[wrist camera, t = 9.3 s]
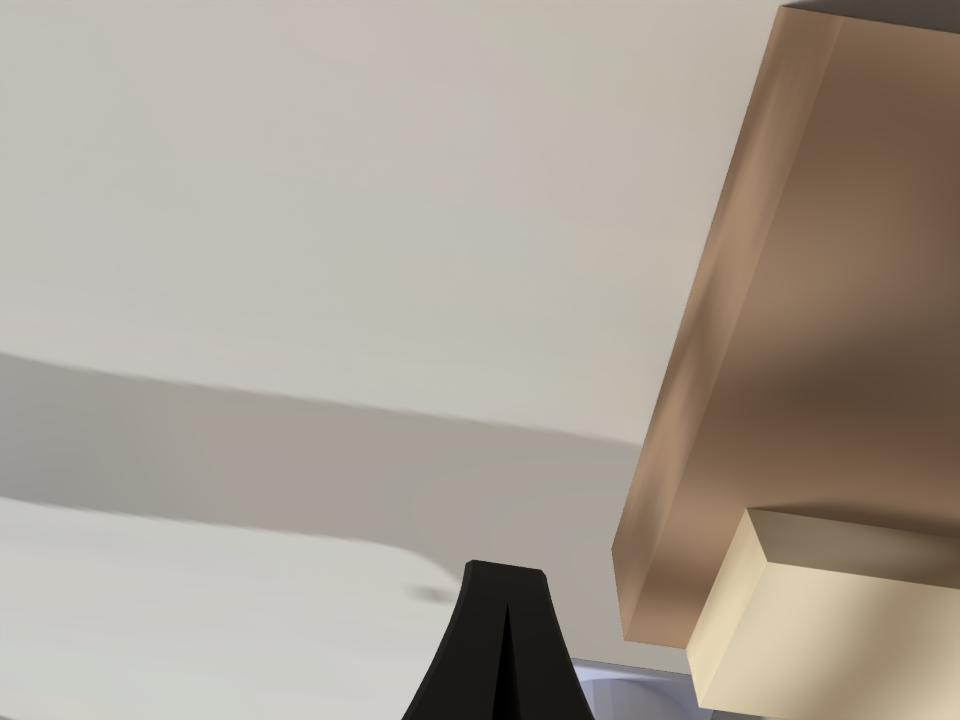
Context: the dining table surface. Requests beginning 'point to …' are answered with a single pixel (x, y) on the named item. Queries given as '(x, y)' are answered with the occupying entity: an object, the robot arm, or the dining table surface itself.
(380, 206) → the dining table surface
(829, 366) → the tan flat block
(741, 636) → the cream flat block
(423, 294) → the dining table surface
